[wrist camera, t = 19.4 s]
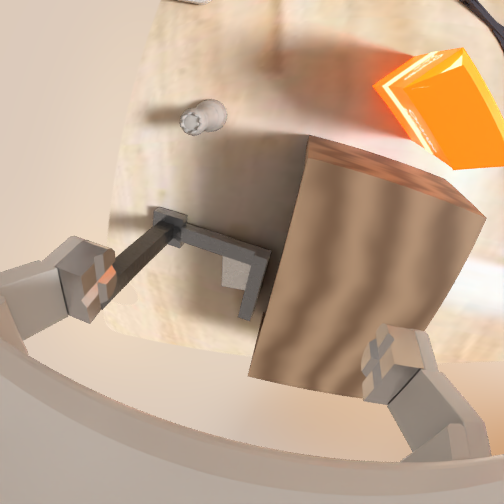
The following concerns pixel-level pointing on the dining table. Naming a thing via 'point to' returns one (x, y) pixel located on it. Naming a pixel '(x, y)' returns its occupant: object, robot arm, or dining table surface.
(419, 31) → the dining table surface
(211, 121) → the rook chess piece
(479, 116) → the orange juice
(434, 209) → the low cabinet
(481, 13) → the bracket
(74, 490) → the robot arm
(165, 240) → the hook tool
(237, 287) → the block
